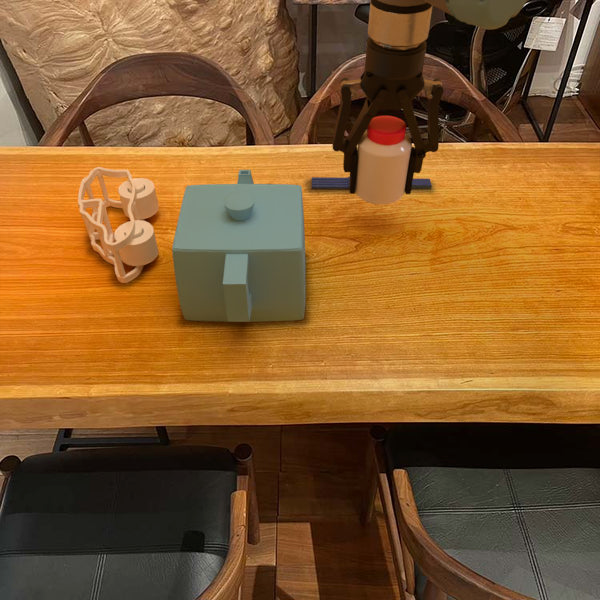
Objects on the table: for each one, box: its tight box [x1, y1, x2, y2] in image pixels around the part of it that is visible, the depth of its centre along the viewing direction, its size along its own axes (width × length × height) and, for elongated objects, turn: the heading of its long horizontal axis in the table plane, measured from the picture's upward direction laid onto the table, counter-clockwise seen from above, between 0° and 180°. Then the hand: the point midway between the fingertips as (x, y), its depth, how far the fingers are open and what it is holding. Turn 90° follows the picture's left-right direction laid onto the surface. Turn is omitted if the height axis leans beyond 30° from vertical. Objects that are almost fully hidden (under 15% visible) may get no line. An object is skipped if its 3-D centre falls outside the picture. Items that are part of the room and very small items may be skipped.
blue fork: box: [310, 176, 432, 190], centre depth 102 cm, size 21×3×1 cm, turn 89°
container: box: [171, 169, 307, 323], centre depth 80 cm, size 17×25×15 cm
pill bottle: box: [355, 115, 413, 206], centre depth 86 cm, size 8×8×11 cm
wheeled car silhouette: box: [77, 166, 160, 284], centre depth 90 cm, size 20×11×7 cm, turn 9°
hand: (379, 188), depth 90 cm, fingers closed on pill bottle, 8 cm apart
